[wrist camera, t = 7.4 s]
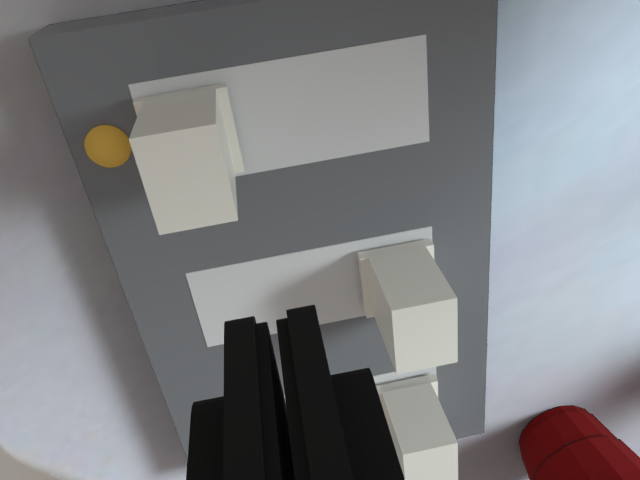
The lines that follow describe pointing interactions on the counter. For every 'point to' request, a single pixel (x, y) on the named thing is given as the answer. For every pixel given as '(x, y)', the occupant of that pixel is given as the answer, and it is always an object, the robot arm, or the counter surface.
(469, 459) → the counter surface
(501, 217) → the counter surface
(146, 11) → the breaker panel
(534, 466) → the plastic cup
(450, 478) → the block
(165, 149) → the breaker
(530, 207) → the counter surface
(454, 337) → the block
